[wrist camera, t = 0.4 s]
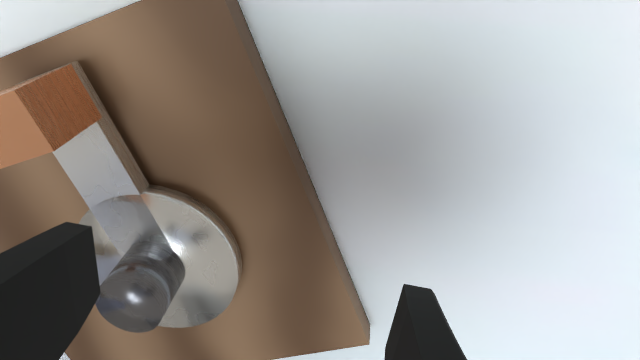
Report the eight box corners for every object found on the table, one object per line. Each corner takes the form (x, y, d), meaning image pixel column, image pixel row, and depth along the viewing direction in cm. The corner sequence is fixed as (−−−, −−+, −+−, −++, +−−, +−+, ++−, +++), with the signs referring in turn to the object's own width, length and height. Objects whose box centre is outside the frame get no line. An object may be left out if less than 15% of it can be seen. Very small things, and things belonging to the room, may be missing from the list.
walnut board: (104, 369, 28) (48, 458, 23) (-105, 101, 20) (-245, 154, 16) (370, 325, 23) (366, 423, 19) (223, -33, 16) (160, -13, 12)
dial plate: (266, 300, 21) (246, 367, 18) (136, 325, 23) (96, 390, 20) (131, 39, 16) (70, 69, 13) (-23, 98, 18) (-109, 137, 15)
